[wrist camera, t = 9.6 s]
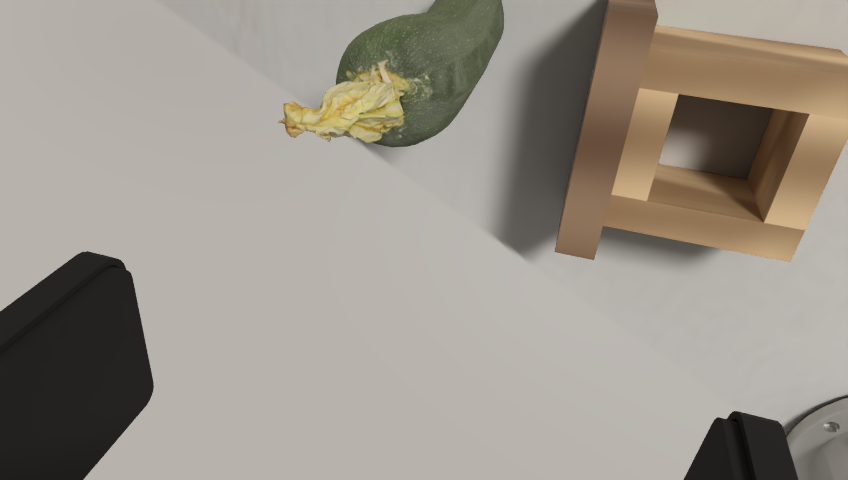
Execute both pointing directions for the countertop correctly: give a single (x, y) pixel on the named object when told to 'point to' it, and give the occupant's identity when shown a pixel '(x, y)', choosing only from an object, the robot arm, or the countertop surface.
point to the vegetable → (406, 75)
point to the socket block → (776, 157)
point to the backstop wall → (605, 123)
